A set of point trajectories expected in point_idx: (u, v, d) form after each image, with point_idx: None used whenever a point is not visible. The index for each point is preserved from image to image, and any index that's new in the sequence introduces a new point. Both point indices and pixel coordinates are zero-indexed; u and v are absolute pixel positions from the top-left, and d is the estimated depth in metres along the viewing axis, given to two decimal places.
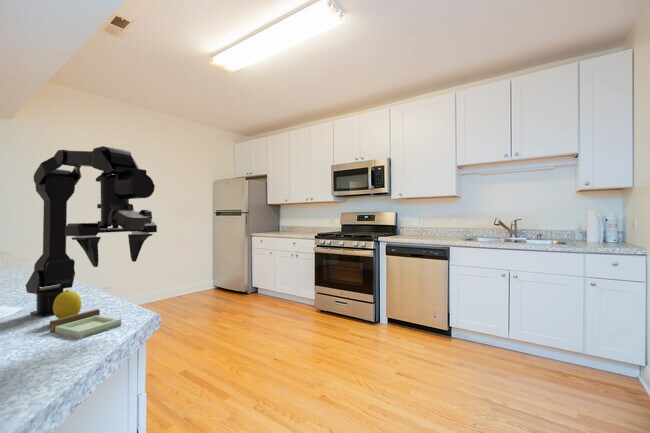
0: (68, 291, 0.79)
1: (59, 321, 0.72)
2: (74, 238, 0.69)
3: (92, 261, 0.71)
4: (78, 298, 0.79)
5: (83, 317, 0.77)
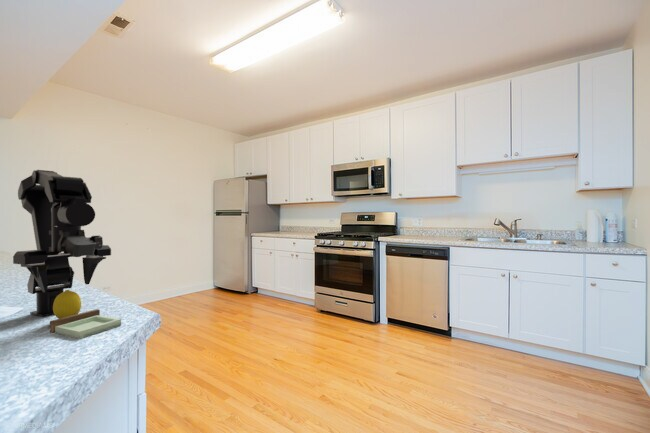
0: (68, 291, 0.79)
1: (59, 321, 0.72)
2: (23, 265, 0.72)
3: (41, 287, 0.74)
4: (78, 298, 0.79)
5: (83, 317, 0.77)
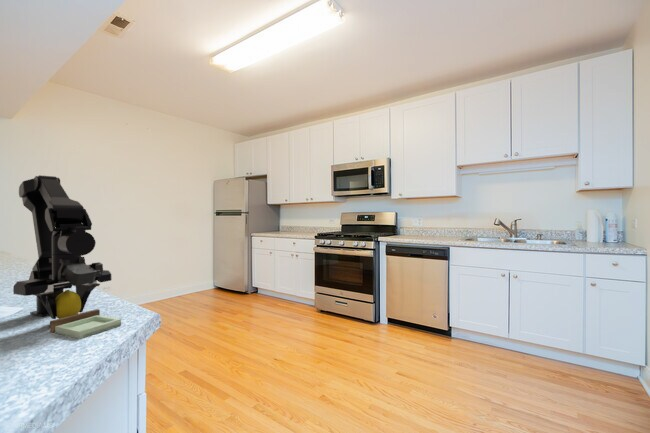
0: (68, 291, 0.79)
1: (59, 321, 0.72)
2: None
3: (50, 314, 0.76)
4: (78, 298, 0.79)
5: (83, 317, 0.77)
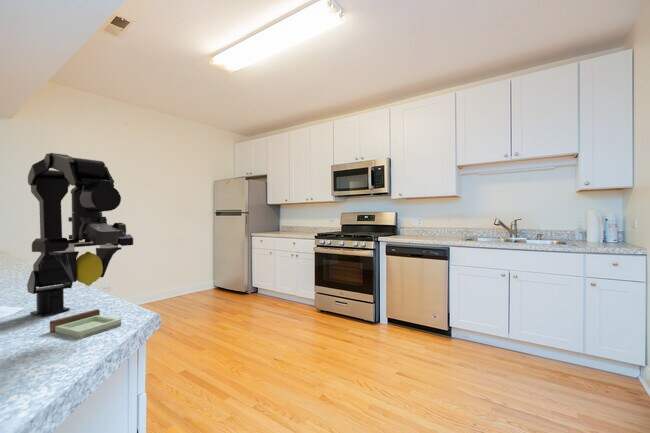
0: (89, 253, 0.73)
1: (59, 321, 0.72)
2: (51, 253, 0.68)
3: (70, 276, 0.70)
4: (99, 261, 0.74)
5: (83, 317, 0.77)
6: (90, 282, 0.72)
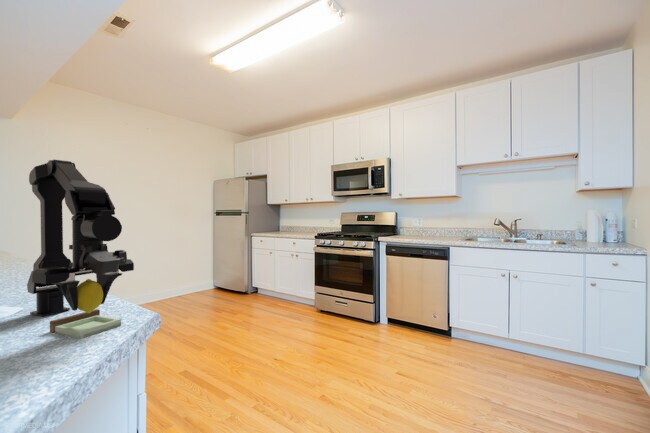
0: (89, 280, 0.73)
1: (59, 321, 0.72)
2: None
3: (71, 305, 0.70)
4: (100, 288, 0.74)
5: (83, 317, 0.77)
6: (90, 310, 0.72)
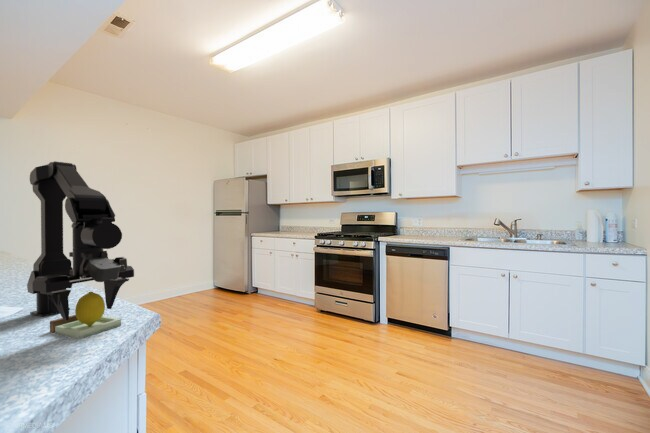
0: (92, 293, 0.73)
1: (59, 321, 0.72)
2: (42, 292, 0.66)
3: (62, 314, 0.68)
4: (102, 301, 0.74)
5: None
6: (92, 323, 0.72)
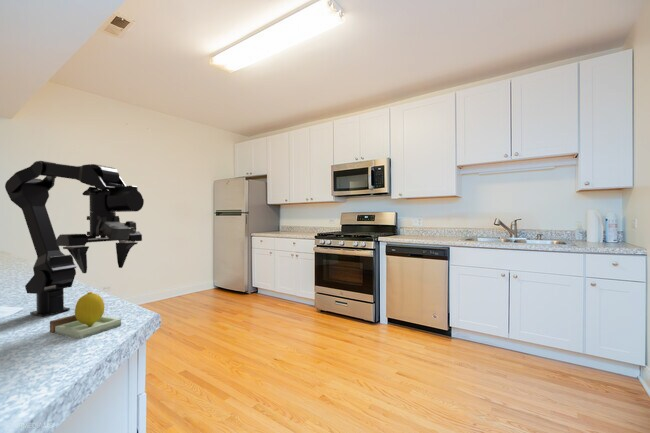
0: (91, 293, 0.73)
1: (59, 321, 0.72)
2: (65, 247, 0.77)
3: (81, 268, 0.79)
4: (101, 301, 0.74)
5: None
6: (91, 323, 0.72)
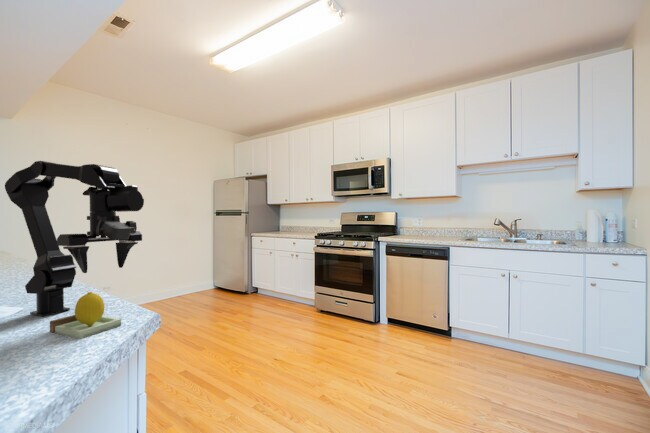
0: (91, 293, 0.73)
1: (59, 321, 0.72)
2: (65, 247, 0.77)
3: (82, 268, 0.79)
4: (101, 301, 0.74)
5: None
6: (91, 323, 0.72)
